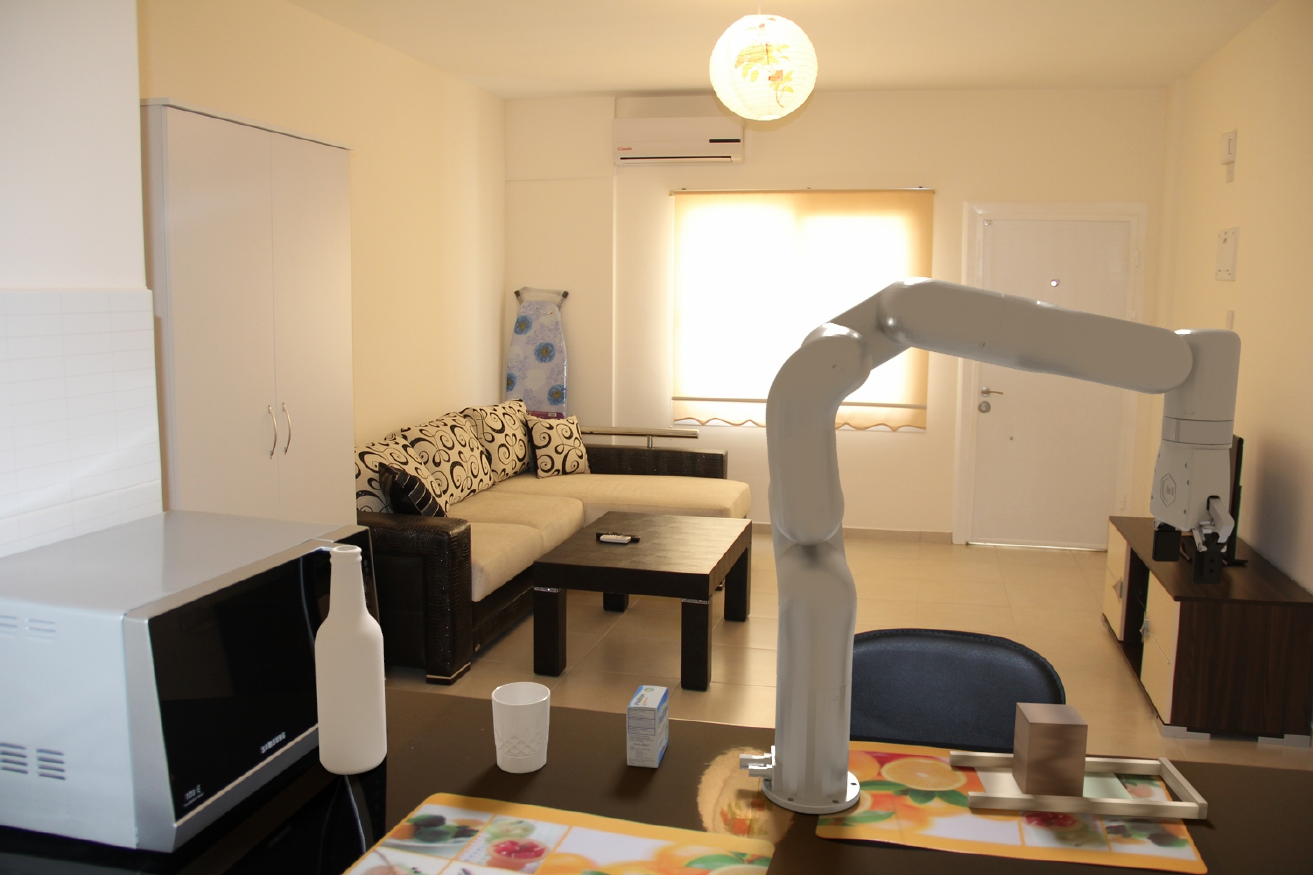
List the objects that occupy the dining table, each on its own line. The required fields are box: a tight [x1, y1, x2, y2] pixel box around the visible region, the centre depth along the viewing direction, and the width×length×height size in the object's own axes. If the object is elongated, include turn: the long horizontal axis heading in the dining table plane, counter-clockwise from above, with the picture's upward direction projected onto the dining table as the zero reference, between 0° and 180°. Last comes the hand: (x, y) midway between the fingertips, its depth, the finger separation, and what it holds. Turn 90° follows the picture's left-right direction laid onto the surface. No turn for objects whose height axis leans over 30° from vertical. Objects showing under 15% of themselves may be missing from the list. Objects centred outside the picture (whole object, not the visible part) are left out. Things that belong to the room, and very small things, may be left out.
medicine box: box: [625, 684, 670, 769], centre depth 138 cm, size 8×4×9 cm, turn 168°
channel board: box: [948, 750, 1209, 820], centre depth 127 cm, size 28×12×4 cm, turn 85°
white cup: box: [491, 681, 551, 774], centre depth 135 cm, size 8×8×10 cm
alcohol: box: [314, 544, 388, 775], centre depth 134 cm, size 9×9×30 cm
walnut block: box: [1012, 702, 1089, 797], centre depth 126 cm, size 7×6×10 cm
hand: (1184, 571), depth 120 cm, fingers open, 9 cm apart
